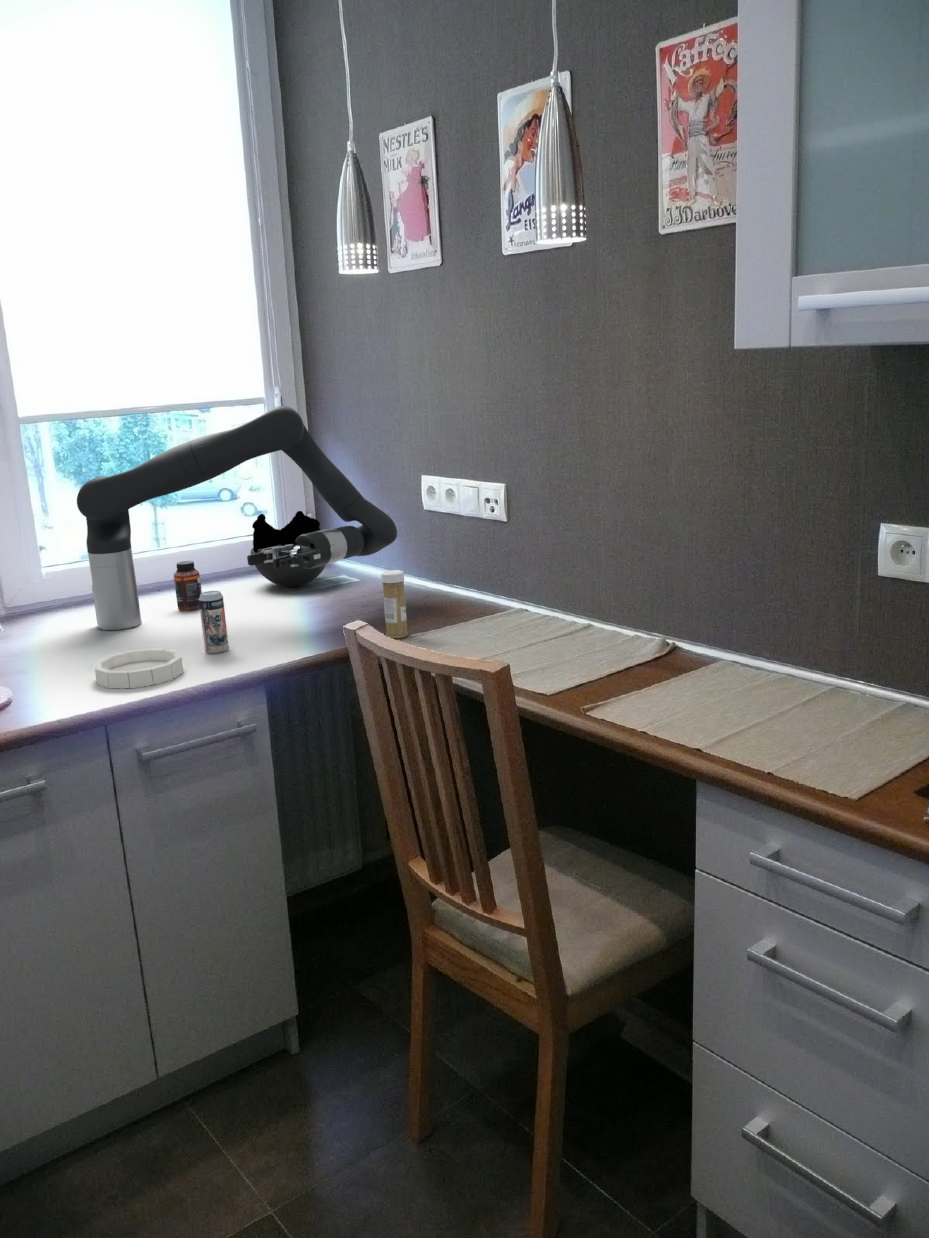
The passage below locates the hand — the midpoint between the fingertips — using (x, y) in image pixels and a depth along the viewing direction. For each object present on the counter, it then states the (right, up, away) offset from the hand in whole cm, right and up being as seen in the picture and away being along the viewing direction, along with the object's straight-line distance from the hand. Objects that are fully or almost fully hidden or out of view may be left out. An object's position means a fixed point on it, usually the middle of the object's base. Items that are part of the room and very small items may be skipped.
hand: (261, 562), depth 212 cm
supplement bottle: (-23, -9, +32) cm, 41 cm away
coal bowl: (-2, -3, +51) cm, 51 cm away
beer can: (-8, -18, -5) cm, 21 cm away
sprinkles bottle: (+28, -15, -1) cm, 32 cm away
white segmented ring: (-19, -22, -19) cm, 35 cm away
